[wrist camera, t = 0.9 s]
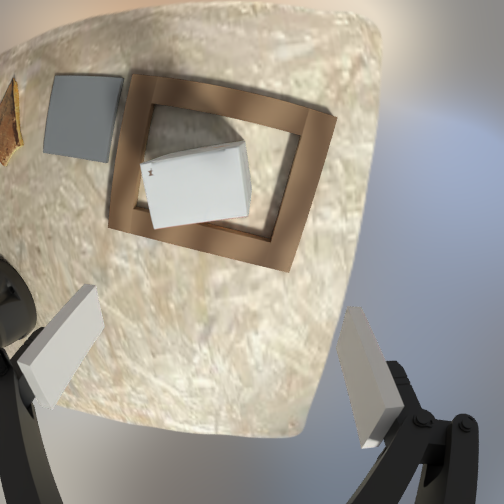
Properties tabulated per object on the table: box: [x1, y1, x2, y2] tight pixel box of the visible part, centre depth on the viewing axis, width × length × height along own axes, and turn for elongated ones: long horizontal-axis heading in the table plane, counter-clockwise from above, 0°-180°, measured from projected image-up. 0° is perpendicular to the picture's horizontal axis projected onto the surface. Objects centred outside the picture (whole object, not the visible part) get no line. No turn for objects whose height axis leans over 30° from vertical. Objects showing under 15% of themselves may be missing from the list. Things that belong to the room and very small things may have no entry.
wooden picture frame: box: [108, 74, 337, 273], centre depth 32 cm, size 22×18×1 cm
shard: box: [0, 78, 24, 166], centre depth 29 cm, size 11×8×2 cm
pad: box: [43, 76, 124, 163], centre depth 30 cm, size 10×10×1 cm
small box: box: [140, 141, 252, 230], centre depth 28 cm, size 8×6×10 cm
